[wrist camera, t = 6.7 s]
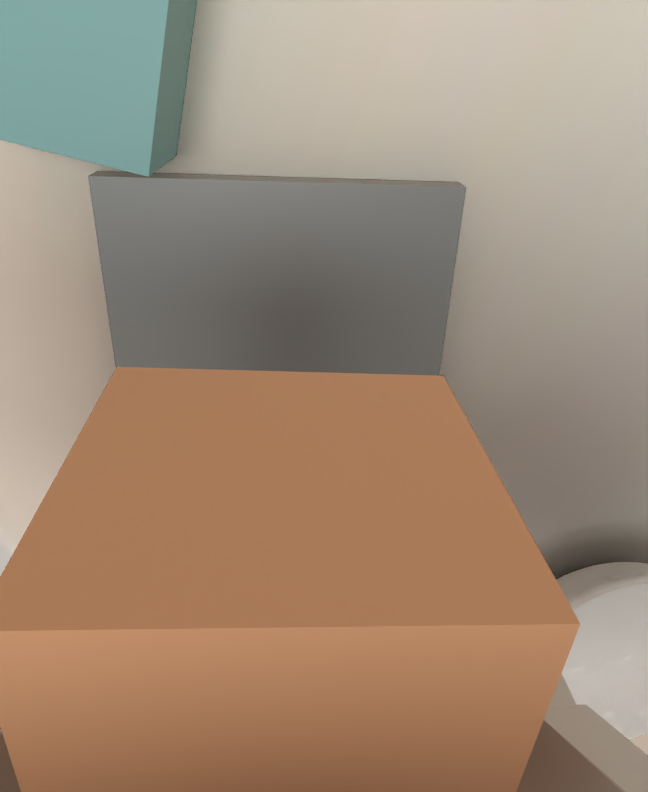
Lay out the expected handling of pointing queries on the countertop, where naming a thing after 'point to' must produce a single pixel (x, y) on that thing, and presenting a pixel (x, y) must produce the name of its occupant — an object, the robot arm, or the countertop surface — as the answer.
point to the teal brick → (96, 78)
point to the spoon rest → (610, 643)
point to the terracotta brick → (277, 595)
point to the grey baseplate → (277, 271)
